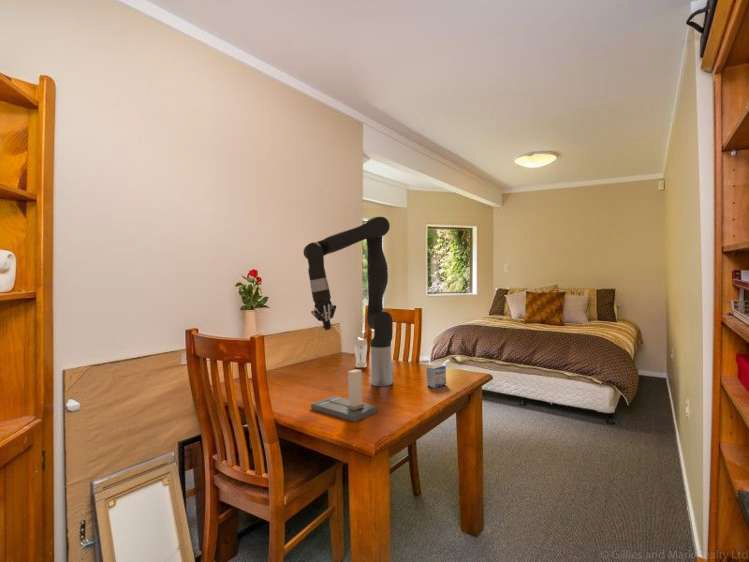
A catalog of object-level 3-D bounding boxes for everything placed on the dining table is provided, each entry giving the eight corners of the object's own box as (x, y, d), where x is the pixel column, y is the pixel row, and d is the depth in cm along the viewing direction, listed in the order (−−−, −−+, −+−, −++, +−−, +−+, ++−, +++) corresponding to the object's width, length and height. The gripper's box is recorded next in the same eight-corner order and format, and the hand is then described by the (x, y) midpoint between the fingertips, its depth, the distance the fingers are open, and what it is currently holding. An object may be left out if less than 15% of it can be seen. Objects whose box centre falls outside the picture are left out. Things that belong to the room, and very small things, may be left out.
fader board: (334, 400, 155) (334, 395, 155) (377, 411, 141) (377, 406, 141) (311, 409, 145) (311, 403, 145) (355, 422, 131) (354, 415, 131)
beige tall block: (356, 404, 142) (355, 368, 142) (364, 406, 140) (363, 370, 140) (346, 408, 138) (345, 371, 138) (355, 410, 136) (354, 373, 136)
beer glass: (356, 368, 206) (355, 340, 206) (353, 365, 213) (352, 338, 213) (369, 367, 208) (368, 339, 208) (365, 364, 215) (365, 337, 215)
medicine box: (434, 388, 167) (433, 368, 166) (426, 386, 170) (426, 367, 170) (446, 385, 172) (446, 365, 171) (438, 383, 175) (438, 364, 175)
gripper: (314, 291, 158) (322, 333, 158) (337, 286, 168) (344, 325, 168) (302, 293, 163) (310, 333, 163) (325, 288, 173) (333, 326, 173)
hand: (328, 329), depth 166 cm, fingers closed
